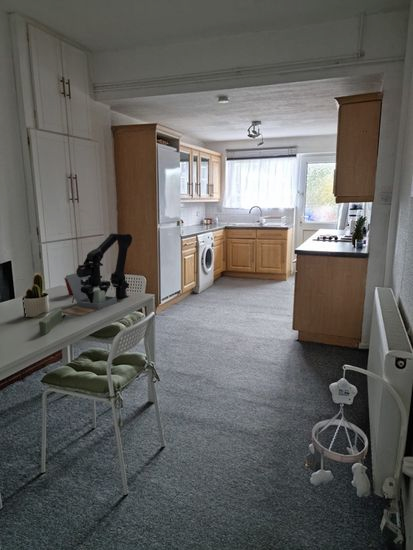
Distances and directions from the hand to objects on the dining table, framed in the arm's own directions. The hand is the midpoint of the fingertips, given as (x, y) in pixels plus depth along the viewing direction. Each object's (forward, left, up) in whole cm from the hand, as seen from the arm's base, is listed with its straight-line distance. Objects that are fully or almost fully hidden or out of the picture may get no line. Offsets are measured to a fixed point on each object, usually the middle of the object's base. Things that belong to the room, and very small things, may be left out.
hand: (97, 301), depth 213 cm
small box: (+28, -17, -2) cm, 33 cm away
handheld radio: (+37, +6, -2) cm, 37 cm away
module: (0, 0, -2) cm, 2 cm away
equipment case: (0, -3, -2) cm, 4 cm away
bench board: (+15, 0, -2) cm, 15 cm away
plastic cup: (-11, -29, -2) cm, 31 cm away
